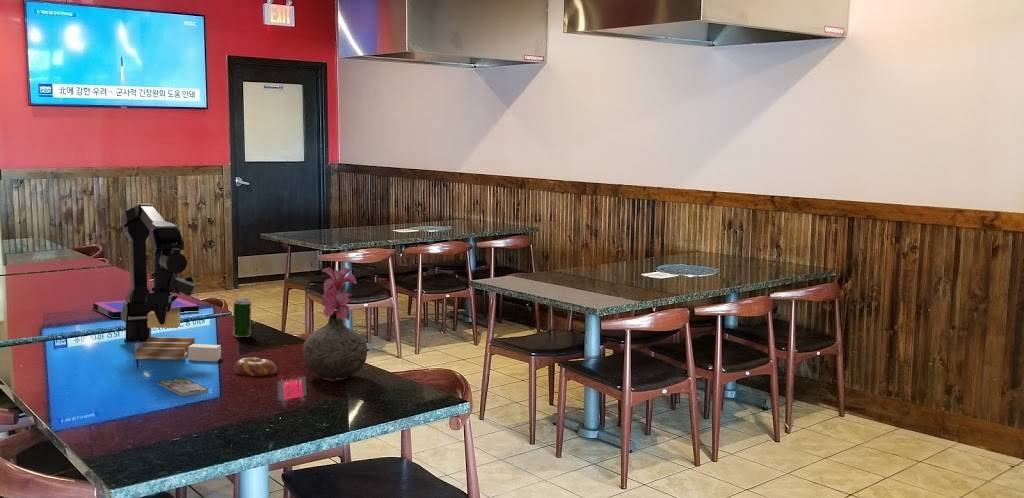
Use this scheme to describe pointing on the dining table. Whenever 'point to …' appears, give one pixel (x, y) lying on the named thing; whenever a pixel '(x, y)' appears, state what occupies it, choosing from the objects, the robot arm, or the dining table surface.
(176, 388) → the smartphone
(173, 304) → the book
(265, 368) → the pretzel
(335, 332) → the vase
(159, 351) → the comb board
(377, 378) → the dining table surface
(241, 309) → the beer can
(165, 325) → the ochre bar
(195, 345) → the cream bar
